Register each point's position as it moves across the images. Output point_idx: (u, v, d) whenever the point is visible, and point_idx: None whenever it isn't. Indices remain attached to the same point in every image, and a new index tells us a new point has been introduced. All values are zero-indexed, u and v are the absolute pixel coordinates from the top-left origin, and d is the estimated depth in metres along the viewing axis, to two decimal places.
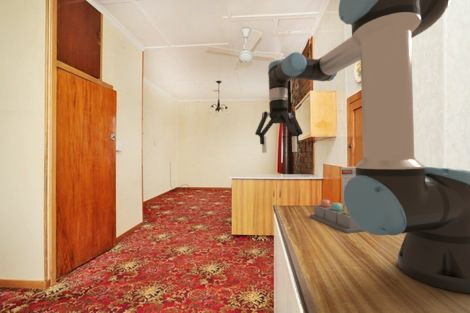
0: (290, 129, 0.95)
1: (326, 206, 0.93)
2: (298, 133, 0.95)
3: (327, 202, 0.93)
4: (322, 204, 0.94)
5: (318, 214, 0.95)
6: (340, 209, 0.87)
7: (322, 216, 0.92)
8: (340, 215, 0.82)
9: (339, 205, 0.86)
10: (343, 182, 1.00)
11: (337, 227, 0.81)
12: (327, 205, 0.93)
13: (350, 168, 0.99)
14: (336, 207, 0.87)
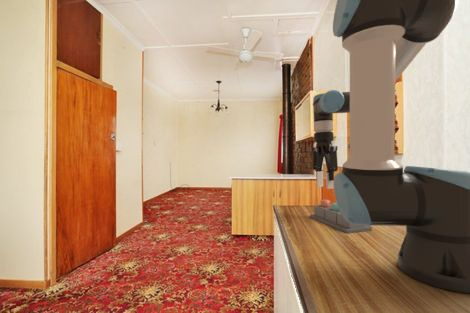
0: None
1: (326, 206, 0.93)
2: (329, 170, 0.90)
3: (327, 202, 0.93)
4: (322, 204, 0.94)
5: (318, 214, 0.95)
6: None
7: (322, 216, 0.92)
8: (340, 215, 0.82)
9: None
10: None
11: (337, 227, 0.81)
12: (327, 205, 0.93)
13: None
14: (336, 207, 0.87)
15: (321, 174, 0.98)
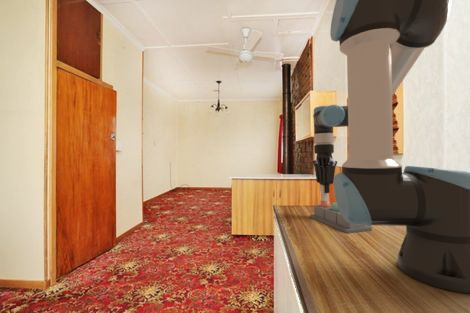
0: None
1: (326, 207, 0.93)
2: (325, 183, 0.93)
3: (327, 203, 0.93)
4: (322, 205, 0.94)
5: (318, 214, 0.95)
6: None
7: (322, 216, 0.92)
8: (340, 215, 0.82)
9: None
10: None
11: (337, 227, 0.81)
12: (327, 206, 0.93)
13: None
14: (336, 207, 0.87)
15: None
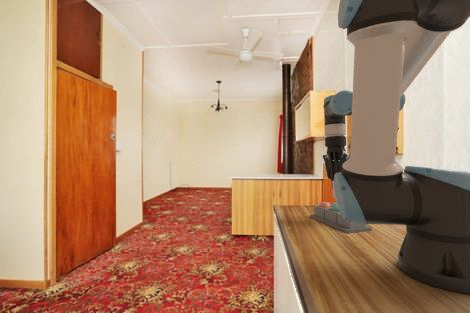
0: None
1: None
2: None
3: (327, 205, 0.93)
4: None
5: (318, 214, 0.95)
6: None
7: (322, 216, 0.92)
8: (340, 215, 0.82)
9: None
10: None
11: (337, 227, 0.81)
12: None
13: None
14: (336, 207, 0.87)
15: None
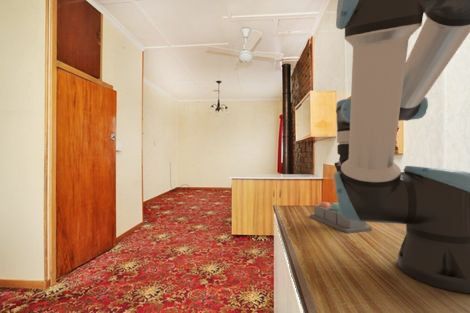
0: None
1: None
2: None
3: (327, 205, 0.93)
4: None
5: (318, 214, 0.95)
6: None
7: (322, 216, 0.92)
8: (340, 215, 0.82)
9: None
10: None
11: (337, 227, 0.81)
12: None
13: None
14: (336, 207, 0.87)
15: None
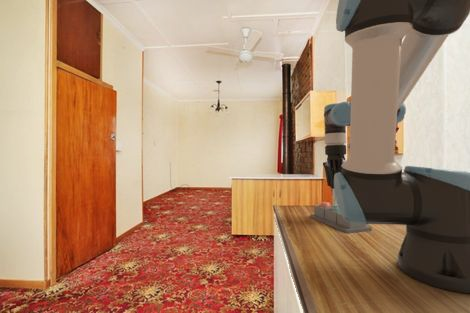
0: None
1: None
2: None
3: (327, 205, 0.93)
4: None
5: (318, 214, 0.95)
6: None
7: (322, 216, 0.92)
8: (340, 215, 0.82)
9: None
10: None
11: (337, 227, 0.81)
12: None
13: None
14: (336, 210, 0.87)
15: None
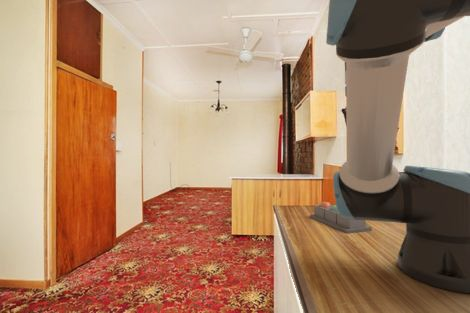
0: None
1: None
2: None
3: (327, 205, 0.93)
4: None
5: (318, 214, 0.95)
6: None
7: (322, 216, 0.92)
8: (340, 215, 0.82)
9: None
10: None
11: (337, 227, 0.81)
12: None
13: None
14: (336, 210, 0.87)
15: None
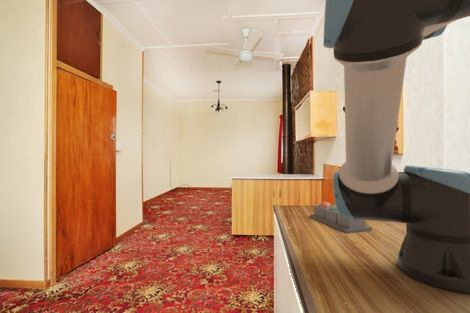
0: None
1: None
2: None
3: (327, 205, 0.93)
4: None
5: (318, 214, 0.95)
6: None
7: (322, 216, 0.92)
8: (340, 215, 0.82)
9: None
10: None
11: (337, 227, 0.81)
12: None
13: None
14: (336, 210, 0.87)
15: None
